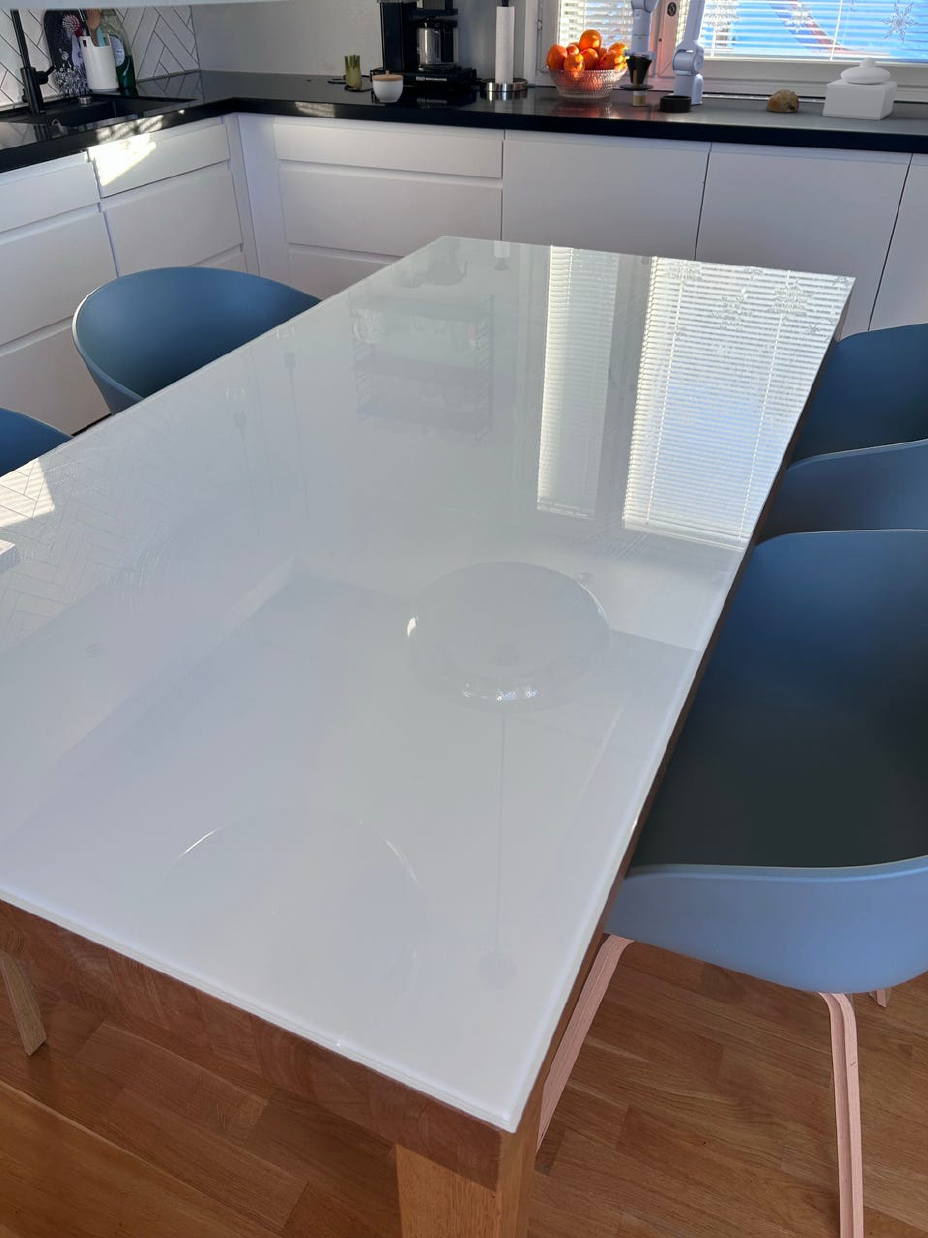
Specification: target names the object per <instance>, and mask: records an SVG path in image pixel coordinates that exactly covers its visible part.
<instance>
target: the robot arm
mask: <svg viewBox="0 0 928 1238" xmlns="http://www.w3.org/2000/svg"><path fill="white" fill-rule="evenodd" d="M659 2H660V0H630V7H631V11H632V13H631V16H632V18H633V19H632V32H631V44H630V49H629V48H627V49H623V50H622V51H623V52H622V57H628V58H625V63H626V66H627V69H628V72H629V80H630V81H629V82H630V84H633V75H634V70H637V84H643V82H644V79H645V76H646V73H647V70H648V68H649V69H650V67H651V64H652V63H653V60H657V52H656V51H651V50H650V43H651V42H650V41H651V30H652V19H653V11H655V10H656V8H657V7H658V3H659ZM706 6H707V0H689V4H688V8H687V9H688V10H687V15H686V21H685V27H684V32H683V37H682V41H680V42H679V43H678V44H677V45H676V47H675V50H674V54H673V56H672V59H671V69H672V71H673V74H674V85H673V86H674V87H673V93H672V95H682V96H690V97H692V104H691V106H692V105H703V102H702V99H703V91H704V79H703V78H704V77H703V76H702V75H701V74H700V73H701V71H702V70H703V68H704V66H705V65H704V64H705V48H704V46H703V45H702V43H701V42H700V41H701V40H700V39H701V34H702V28H703V24H704V23H703V22H704V18H705V12H706ZM649 66H650V67H649Z"/></svg>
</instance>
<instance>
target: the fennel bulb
mask: <svg viewBox="0 0 928 1238" xmlns="http://www.w3.org/2000/svg"><path fill="white" fill-rule="evenodd" d="M344 68H345V69H344V70H345V71H344V72H345V83H346V86H347V85H349V86H351V87H353V88H348V87H347V90H348V91H352V90H359V91H361V90H362V88H361V87H363V75H362V70H361V55H359V54H356V53H353V54H349V56H348V55H344ZM354 88H356V89H354Z"/></svg>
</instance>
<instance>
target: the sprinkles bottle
mask: <svg viewBox="0 0 928 1238" xmlns="http://www.w3.org/2000/svg"><path fill="white" fill-rule="evenodd" d="M650 67H651V65H650V66H649V68H648V70H647V73H646V76H645V79H644V82H643V84H645V85H649V75H650V74H649V71H650ZM647 96H648V90H647V91H633V100H632V106H633V107H637V108H639V107H641V108H642V107H646V106H647Z"/></svg>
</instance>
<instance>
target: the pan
mask: <svg viewBox="0 0 928 1238" xmlns="http://www.w3.org/2000/svg"><path fill="white" fill-rule="evenodd" d="M691 104H692V97H690V96H682V95H673V94H668V95H661V96H660V97H659V106H658V111H659V112H662V113H668V114H669V113H670V114H683V113H684V114H685V113H690V112H691V111H692V105H691Z"/></svg>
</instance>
